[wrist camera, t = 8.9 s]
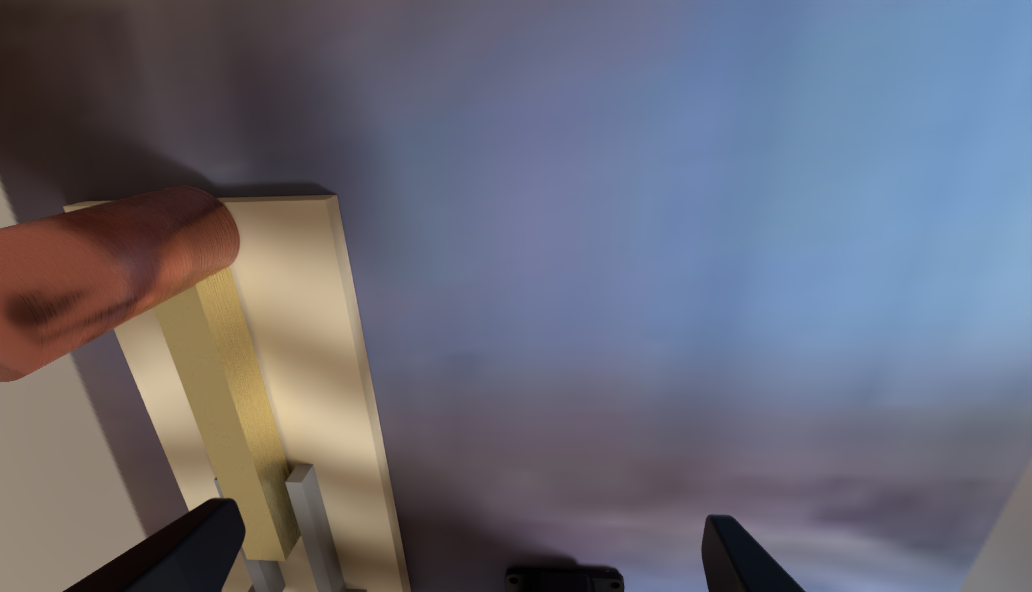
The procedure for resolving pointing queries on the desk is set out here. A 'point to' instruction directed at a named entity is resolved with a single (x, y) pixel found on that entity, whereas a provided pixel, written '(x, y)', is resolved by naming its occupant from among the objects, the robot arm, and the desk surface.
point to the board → (292, 400)
